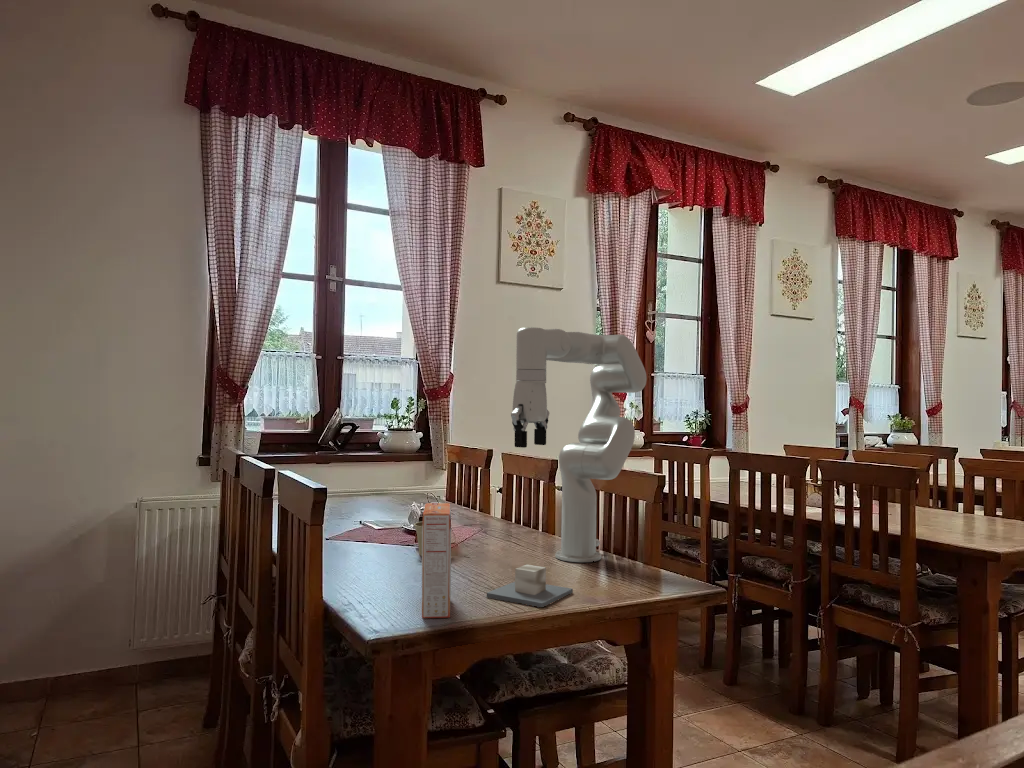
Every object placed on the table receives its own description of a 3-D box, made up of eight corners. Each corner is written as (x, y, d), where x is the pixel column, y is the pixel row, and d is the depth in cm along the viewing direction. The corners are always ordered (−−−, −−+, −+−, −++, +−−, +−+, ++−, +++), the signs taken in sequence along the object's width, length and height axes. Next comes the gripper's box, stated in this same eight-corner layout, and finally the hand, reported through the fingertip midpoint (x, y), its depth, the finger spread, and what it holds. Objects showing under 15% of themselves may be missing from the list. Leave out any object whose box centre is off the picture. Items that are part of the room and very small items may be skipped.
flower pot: (406, 556, 197) (407, 525, 197) (423, 550, 206) (424, 519, 206) (437, 560, 193) (438, 527, 194) (453, 553, 202) (453, 522, 202)
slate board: (519, 583, 170) (519, 579, 170) (572, 593, 163) (572, 588, 163) (486, 597, 159) (486, 592, 159) (542, 608, 151) (542, 603, 151)
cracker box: (422, 599, 156) (424, 502, 157) (450, 599, 157) (452, 502, 157) (419, 619, 142) (421, 512, 143) (450, 619, 143) (452, 512, 143)
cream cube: (526, 586, 164) (526, 564, 164) (545, 589, 162) (545, 567, 162) (514, 591, 160) (515, 568, 160) (534, 594, 157) (534, 571, 158)
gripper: (535, 377, 189) (534, 443, 189) (500, 376, 175) (499, 447, 175) (560, 377, 186) (560, 444, 185) (526, 376, 171) (526, 449, 171)
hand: (530, 445), depth 180 cm, fingers open, 9 cm apart
